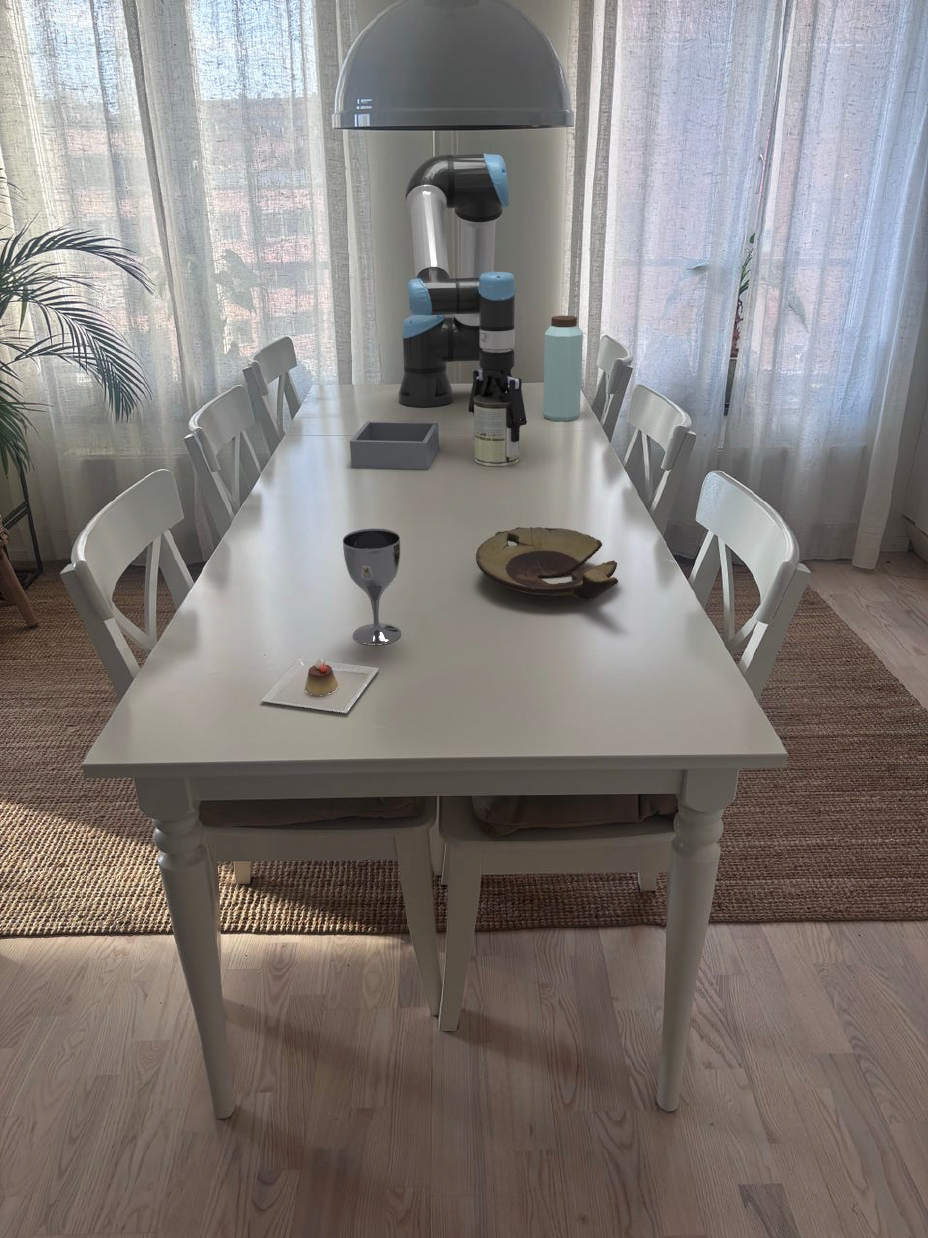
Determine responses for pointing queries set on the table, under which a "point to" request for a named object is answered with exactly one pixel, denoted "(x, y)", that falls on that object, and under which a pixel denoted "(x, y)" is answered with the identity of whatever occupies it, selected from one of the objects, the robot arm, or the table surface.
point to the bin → (395, 445)
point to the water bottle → (562, 369)
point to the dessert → (319, 681)
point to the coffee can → (491, 431)
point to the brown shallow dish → (545, 562)
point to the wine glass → (373, 576)
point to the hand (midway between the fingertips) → (496, 450)
